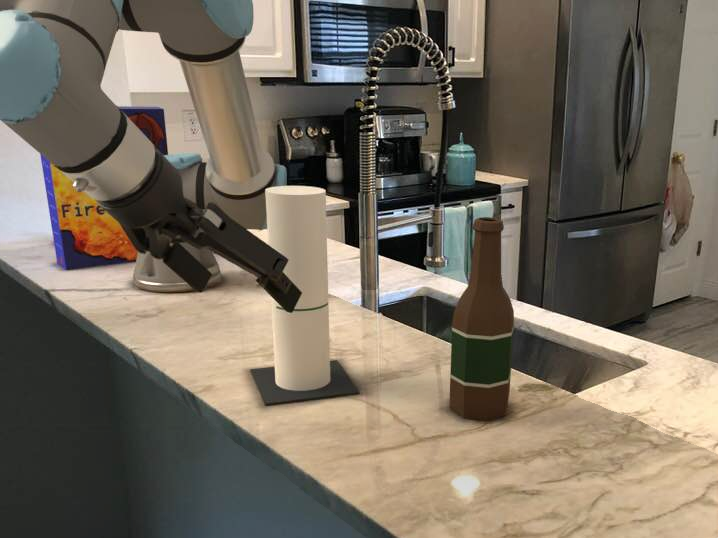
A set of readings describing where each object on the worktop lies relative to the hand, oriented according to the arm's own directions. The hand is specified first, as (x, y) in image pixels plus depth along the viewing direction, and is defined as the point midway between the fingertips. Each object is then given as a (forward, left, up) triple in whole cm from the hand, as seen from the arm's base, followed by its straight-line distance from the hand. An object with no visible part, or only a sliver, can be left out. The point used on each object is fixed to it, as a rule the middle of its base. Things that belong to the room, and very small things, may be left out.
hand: (248, 292), depth 89 cm
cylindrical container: (-6, +7, -14) cm, 17 cm away
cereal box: (-81, -15, -15) cm, 83 cm away
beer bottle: (+9, +26, -15) cm, 31 cm away
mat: (-6, +7, -14) cm, 17 cm away
